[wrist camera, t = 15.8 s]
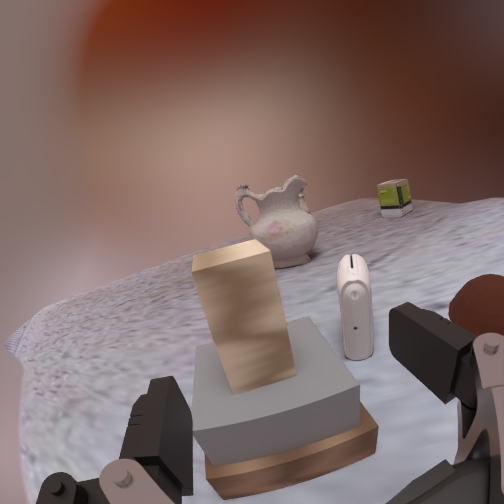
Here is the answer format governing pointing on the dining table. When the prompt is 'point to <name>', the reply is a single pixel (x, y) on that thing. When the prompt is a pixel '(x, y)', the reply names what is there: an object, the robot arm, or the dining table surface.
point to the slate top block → (274, 402)
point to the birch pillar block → (245, 314)
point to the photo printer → (355, 307)
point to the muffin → (480, 305)
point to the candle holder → (302, 201)
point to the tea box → (394, 198)
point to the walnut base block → (294, 462)
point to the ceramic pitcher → (281, 222)
